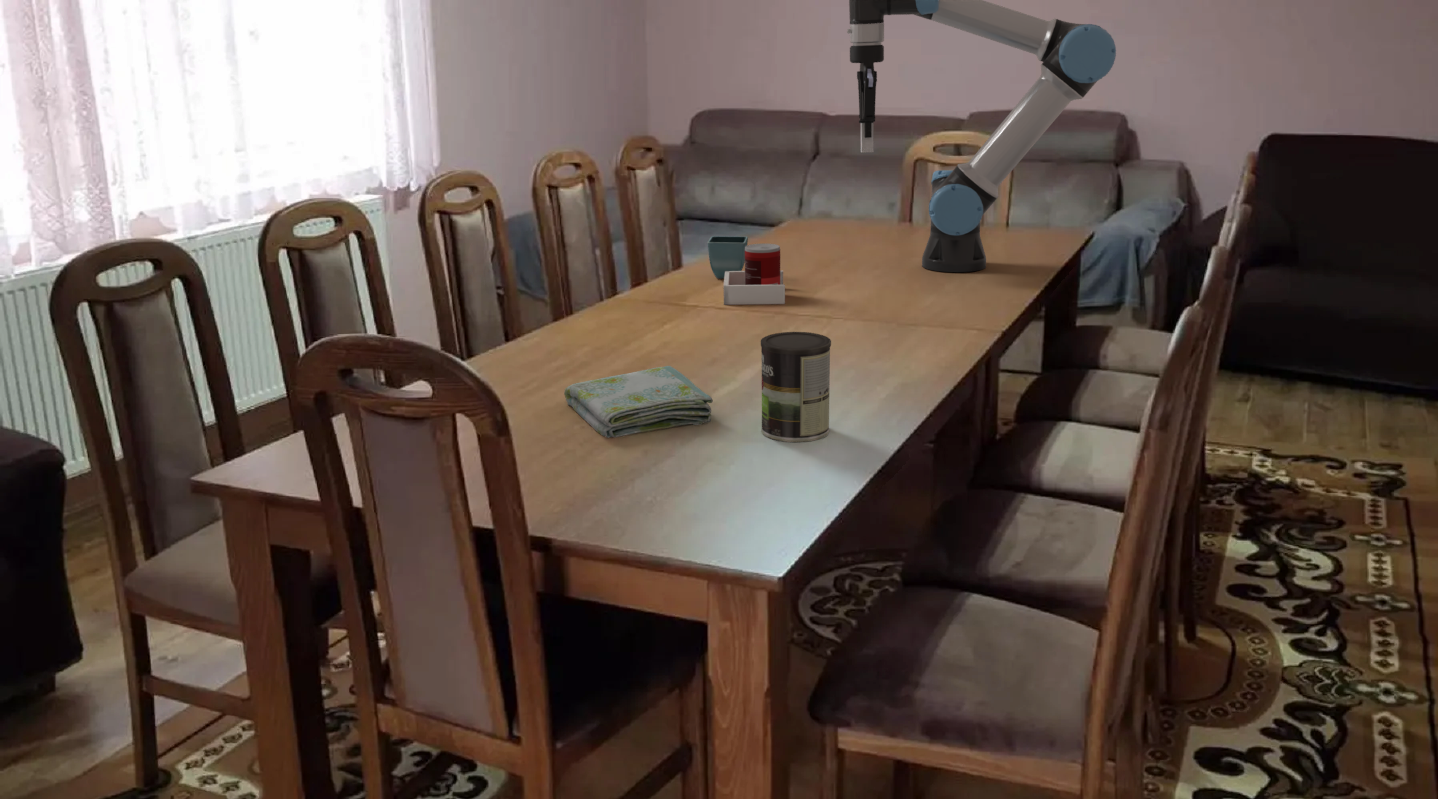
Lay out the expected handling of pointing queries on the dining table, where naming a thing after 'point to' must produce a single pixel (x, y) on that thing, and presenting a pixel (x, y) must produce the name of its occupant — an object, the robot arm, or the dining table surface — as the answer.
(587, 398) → the towel
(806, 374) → the coffee can
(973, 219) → the robot arm
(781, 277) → the white open tray
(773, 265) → the canned food
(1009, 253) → the dining table surface
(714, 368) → the dining table surface
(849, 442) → the dining table surface
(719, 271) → the flower pot
